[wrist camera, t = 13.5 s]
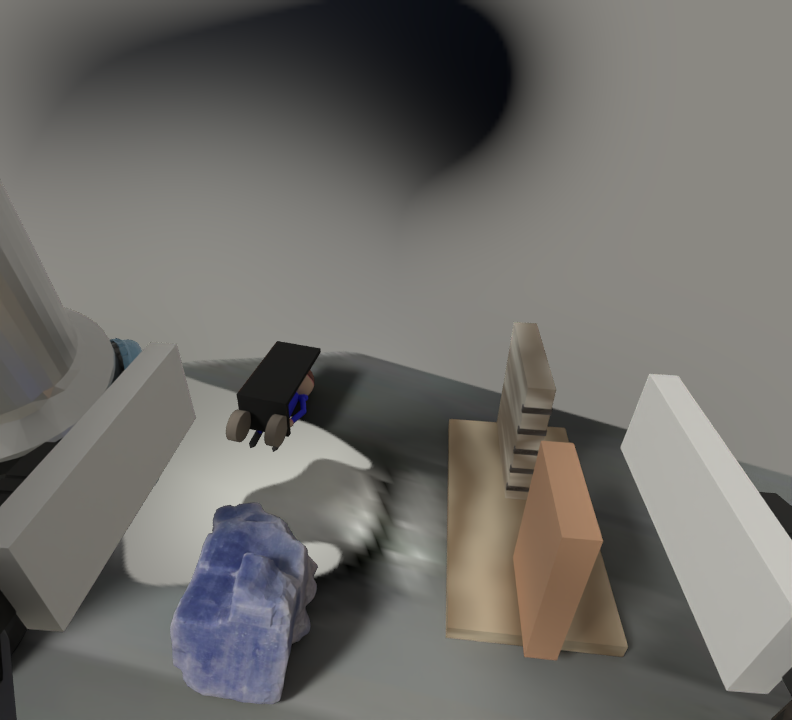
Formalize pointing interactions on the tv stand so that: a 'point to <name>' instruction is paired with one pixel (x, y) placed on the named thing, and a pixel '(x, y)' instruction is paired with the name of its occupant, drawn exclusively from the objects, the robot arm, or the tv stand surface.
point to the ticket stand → (510, 513)
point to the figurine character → (274, 395)
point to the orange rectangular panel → (554, 549)
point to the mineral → (243, 607)
